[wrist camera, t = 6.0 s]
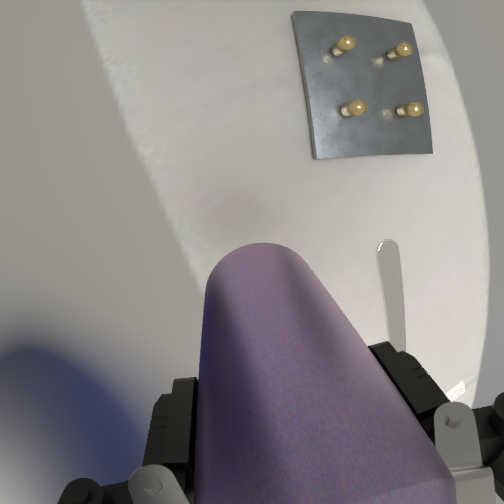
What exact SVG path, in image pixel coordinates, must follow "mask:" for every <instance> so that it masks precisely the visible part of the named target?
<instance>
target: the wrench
mask: <svg viewBox="0 0 504 504" xmlns="http://www.w3.org/2000/svg"><path fill="white" fill-rule="evenodd" d="M375 254H376V259H377V264H378V270H379V275H380V281H381V287H382V293H383V300H384V306H385V313H386V321H387V329H388V337H389V342H390V343H391V345H392V346H393V347H394V348H395V350H396V351H397V352H400V351H405V352H406V334H405V310H404V295H403V283H402V273H401V264H400V256H399V248H398V245H397V244H396V243H395V242H394V241H393V240H390V239H386V240H383V241H381V242H380V243H379V245H378V246H377V249H376V253H375Z"/></svg>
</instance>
